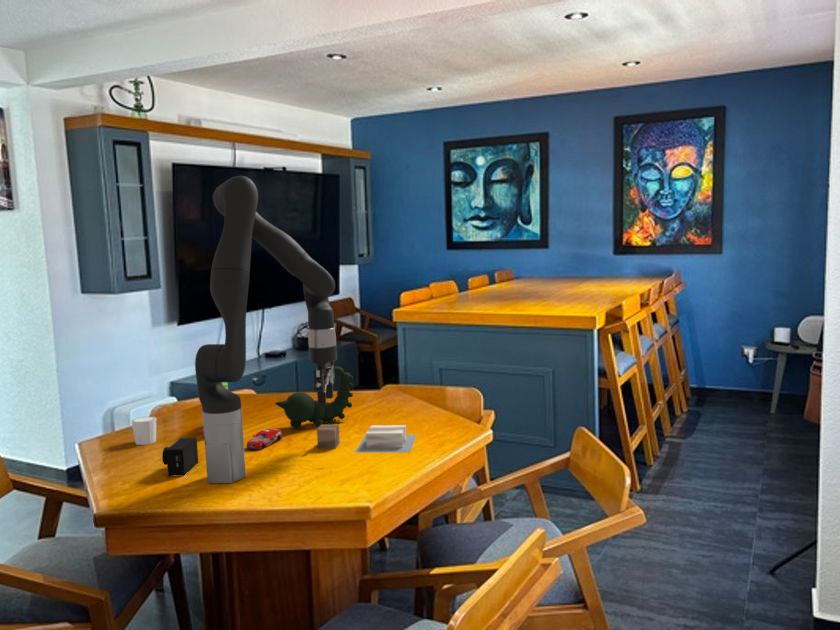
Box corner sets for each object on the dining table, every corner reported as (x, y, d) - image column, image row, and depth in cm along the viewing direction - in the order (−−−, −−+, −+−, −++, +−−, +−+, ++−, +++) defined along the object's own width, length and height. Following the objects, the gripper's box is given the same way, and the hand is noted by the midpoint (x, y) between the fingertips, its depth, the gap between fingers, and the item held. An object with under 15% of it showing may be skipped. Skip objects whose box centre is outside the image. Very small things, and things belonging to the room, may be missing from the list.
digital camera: (178, 463, 185) (176, 437, 184) (198, 462, 185) (196, 437, 184) (163, 476, 174) (161, 449, 174) (184, 476, 174) (182, 449, 174)
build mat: (410, 454, 185) (410, 452, 185) (354, 454, 186) (354, 452, 186) (416, 436, 200) (416, 434, 200) (365, 437, 202) (365, 435, 202)
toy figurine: (343, 420, 228) (269, 426, 215) (345, 363, 227) (271, 366, 214) (355, 427, 220) (279, 433, 207) (357, 367, 219) (281, 370, 206)
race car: (259, 452, 192) (258, 438, 192) (243, 451, 194) (242, 437, 194) (285, 439, 204) (285, 425, 204) (270, 437, 206) (269, 424, 206)
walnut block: (335, 450, 190) (334, 429, 190) (318, 450, 191) (316, 429, 190) (339, 445, 195) (338, 424, 195) (322, 445, 196) (321, 424, 195)
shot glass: (162, 441, 206) (160, 418, 205) (139, 447, 201) (137, 423, 200) (151, 437, 210) (149, 414, 210) (129, 442, 206) (127, 419, 205)
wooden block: (402, 447, 189) (402, 433, 188) (366, 447, 190) (365, 433, 189) (406, 438, 197) (405, 425, 196) (371, 439, 198) (371, 425, 197)
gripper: (330, 348, 183) (333, 408, 185) (341, 339, 197) (344, 395, 199) (302, 349, 184) (306, 408, 186) (315, 340, 198) (318, 395, 200)
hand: (325, 401), depth 192 cm, fingers open, 8 cm apart
